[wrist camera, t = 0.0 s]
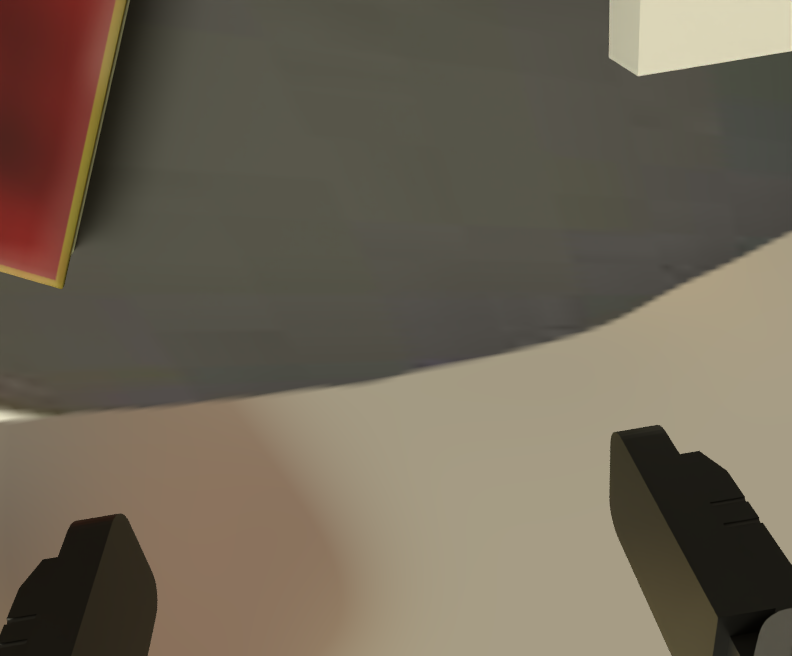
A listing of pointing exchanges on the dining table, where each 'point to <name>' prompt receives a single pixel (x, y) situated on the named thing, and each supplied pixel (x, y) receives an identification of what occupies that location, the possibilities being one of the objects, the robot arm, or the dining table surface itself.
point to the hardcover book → (51, 125)
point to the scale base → (695, 32)
